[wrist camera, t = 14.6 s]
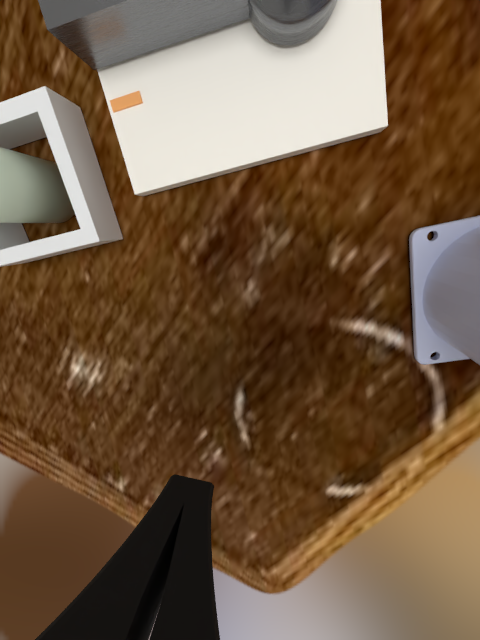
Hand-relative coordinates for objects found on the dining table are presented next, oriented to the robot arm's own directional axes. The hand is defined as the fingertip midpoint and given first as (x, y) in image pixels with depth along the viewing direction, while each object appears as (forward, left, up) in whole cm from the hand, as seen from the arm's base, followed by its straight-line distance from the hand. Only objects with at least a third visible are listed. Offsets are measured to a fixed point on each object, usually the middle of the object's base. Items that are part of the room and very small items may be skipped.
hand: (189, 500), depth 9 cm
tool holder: (+8, -13, -10) cm, 18 cm away
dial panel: (-4, -17, -10) cm, 20 cm away
